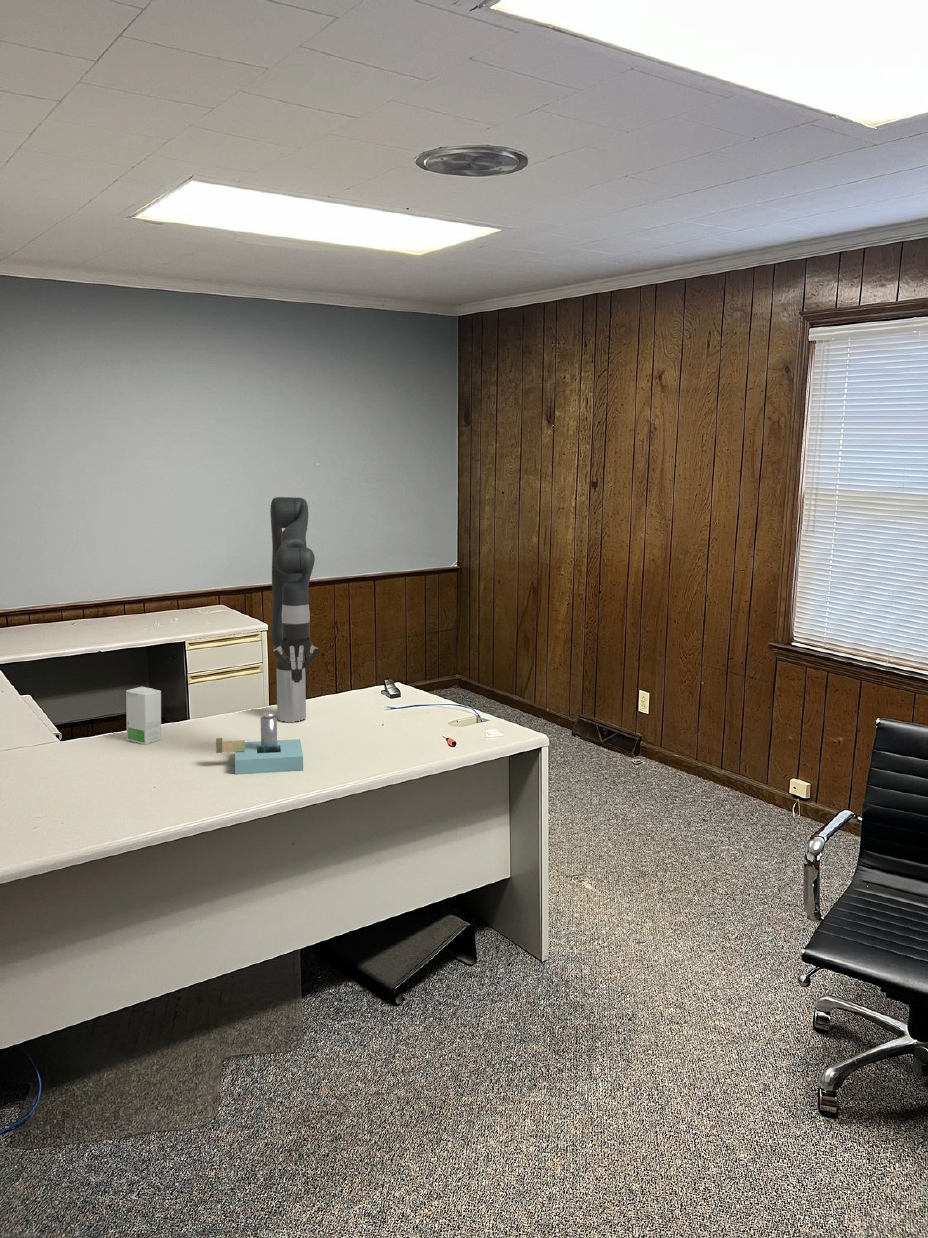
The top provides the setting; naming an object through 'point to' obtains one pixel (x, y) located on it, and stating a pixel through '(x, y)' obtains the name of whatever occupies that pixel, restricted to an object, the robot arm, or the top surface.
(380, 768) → the top surface
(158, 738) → the skincare box
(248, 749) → the dock
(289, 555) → the robot arm
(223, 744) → the block hammer
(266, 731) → the metal capped cylinder
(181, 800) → the top surface
